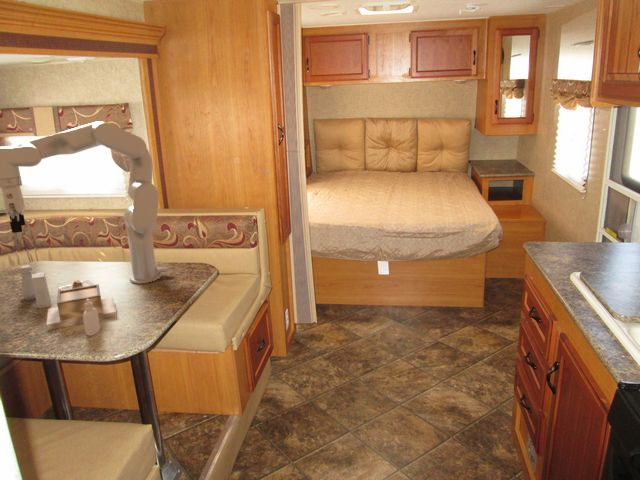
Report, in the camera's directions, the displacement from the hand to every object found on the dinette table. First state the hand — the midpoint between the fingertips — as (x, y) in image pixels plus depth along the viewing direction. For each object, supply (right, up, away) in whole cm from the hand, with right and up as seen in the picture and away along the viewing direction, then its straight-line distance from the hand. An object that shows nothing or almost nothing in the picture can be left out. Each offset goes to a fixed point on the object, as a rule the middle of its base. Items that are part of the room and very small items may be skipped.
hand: (19, 228), depth 187 cm
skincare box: (+5, -29, +7) cm, 30 cm away
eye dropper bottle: (+34, -35, -15) cm, 51 cm away
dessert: (+11, -25, +22) cm, 35 cm away
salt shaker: (-4, -27, +14) cm, 31 cm away
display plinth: (+24, -31, -2) cm, 39 cm away
